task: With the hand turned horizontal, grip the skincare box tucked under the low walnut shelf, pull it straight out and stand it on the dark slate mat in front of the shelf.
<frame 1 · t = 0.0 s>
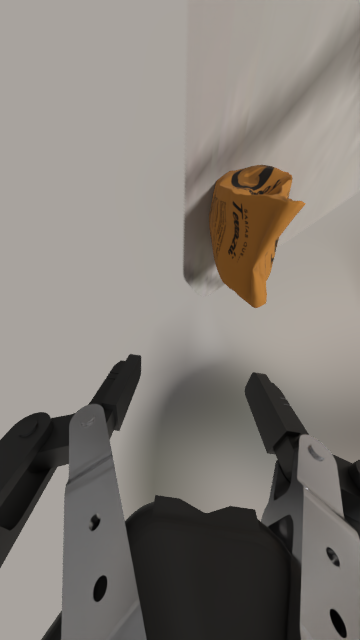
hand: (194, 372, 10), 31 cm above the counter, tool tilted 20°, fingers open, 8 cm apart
coffee package: (234, 211, 28), on the counter
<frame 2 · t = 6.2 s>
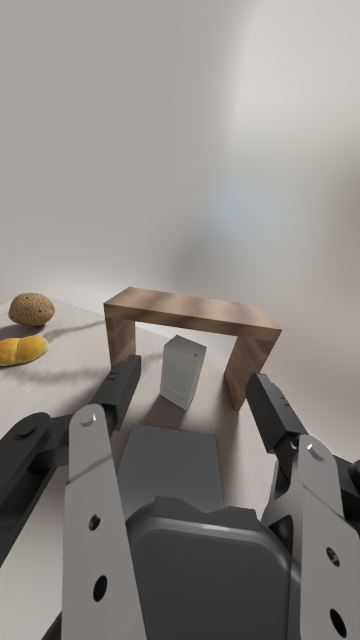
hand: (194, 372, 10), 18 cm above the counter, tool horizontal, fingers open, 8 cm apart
walnut shelf: (178, 381, 31), on the counter
skincare box: (177, 394, 28), on the counter
bread roll: (22, 355, 32), on the counter
slate mat: (167, 494, 17), on the counter
brown potato: (40, 326, 42), on the counter
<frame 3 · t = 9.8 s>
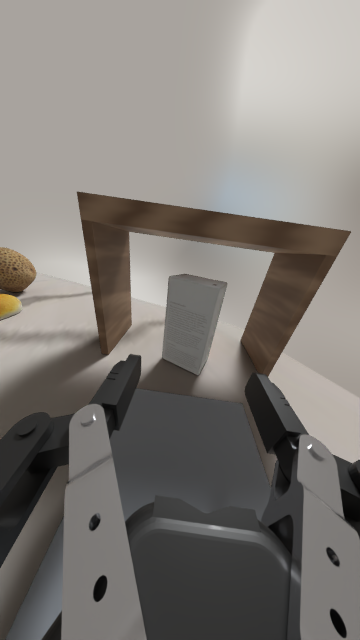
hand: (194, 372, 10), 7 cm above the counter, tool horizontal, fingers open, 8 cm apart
walnut shelf: (185, 346, 24), on the counter
skincare box: (184, 359, 22), on the counter
slate mat: (178, 484, 10), on the counter
brown potato: (18, 293, 35), on the counter
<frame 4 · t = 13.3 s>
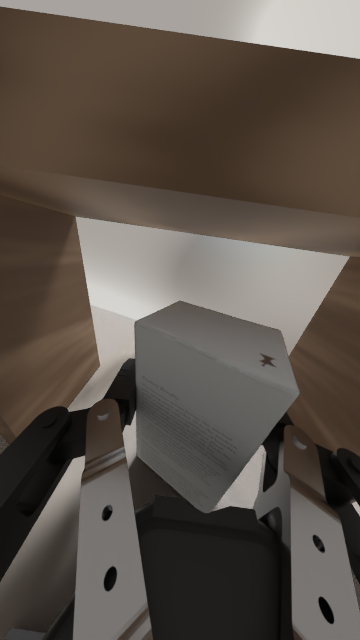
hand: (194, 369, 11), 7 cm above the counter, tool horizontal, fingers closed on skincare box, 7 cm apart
walnut shelf: (182, 413, 14), on the counter
skincare box: (179, 452, 12), on the counter, touching gripper
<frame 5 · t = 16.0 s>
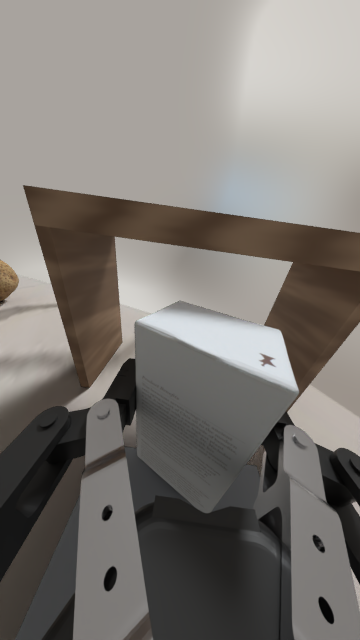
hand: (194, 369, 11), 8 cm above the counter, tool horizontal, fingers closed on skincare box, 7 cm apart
walnut shelf: (183, 371, 21), on the counter
skincare box: (180, 452, 12), point 1 cm above the counter, touching gripper
when the fingers open (8 cm above the counter, at t = 18.8 s): skincare box stays where it is, resting on slate mat.
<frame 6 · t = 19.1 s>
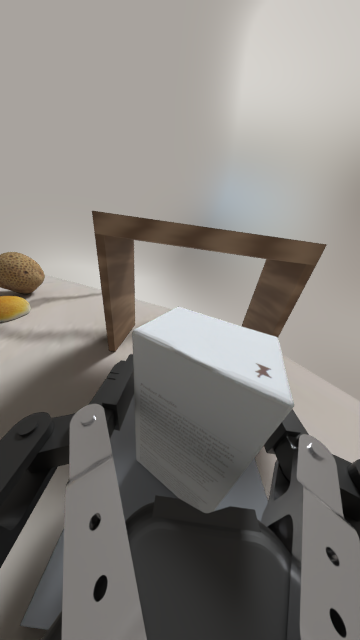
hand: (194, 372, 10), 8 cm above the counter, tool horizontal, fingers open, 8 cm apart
walnut shelf: (185, 344, 27), on the counter
skincare box: (179, 456, 12), resting on slate mat
slate mat: (178, 456, 12), on the counter
brown potato: (27, 294, 37), on the counter
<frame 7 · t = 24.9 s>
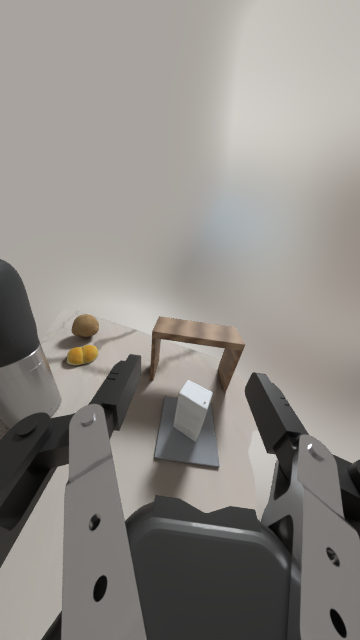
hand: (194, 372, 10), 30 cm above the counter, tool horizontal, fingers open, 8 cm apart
walnut shelf: (188, 374, 49), on the counter
skincare box: (187, 426, 34), resting on slate mat
bread roll: (83, 358, 49), on the counter
slate mat: (187, 426, 34), on the counter
brown potato: (88, 337, 59), on the counter
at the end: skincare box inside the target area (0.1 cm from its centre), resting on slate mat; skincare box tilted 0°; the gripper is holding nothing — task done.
